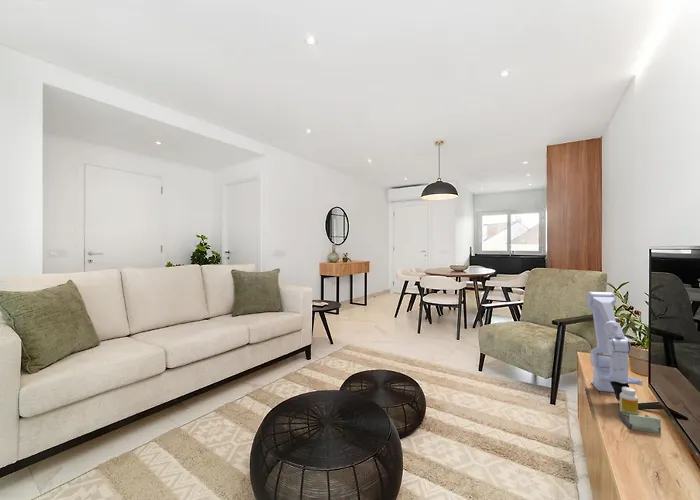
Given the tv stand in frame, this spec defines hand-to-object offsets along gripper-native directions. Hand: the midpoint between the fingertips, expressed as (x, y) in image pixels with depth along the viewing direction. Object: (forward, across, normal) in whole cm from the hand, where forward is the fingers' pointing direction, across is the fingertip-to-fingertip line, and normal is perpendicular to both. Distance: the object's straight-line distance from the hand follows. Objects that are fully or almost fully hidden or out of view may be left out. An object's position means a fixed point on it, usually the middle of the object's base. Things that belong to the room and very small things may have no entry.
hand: (619, 399), depth 131 cm
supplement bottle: (+2, 0, -8) cm, 9 cm away
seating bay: (+2, 0, -16) cm, 16 cm away
